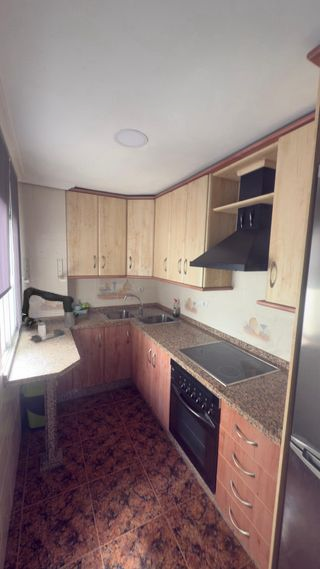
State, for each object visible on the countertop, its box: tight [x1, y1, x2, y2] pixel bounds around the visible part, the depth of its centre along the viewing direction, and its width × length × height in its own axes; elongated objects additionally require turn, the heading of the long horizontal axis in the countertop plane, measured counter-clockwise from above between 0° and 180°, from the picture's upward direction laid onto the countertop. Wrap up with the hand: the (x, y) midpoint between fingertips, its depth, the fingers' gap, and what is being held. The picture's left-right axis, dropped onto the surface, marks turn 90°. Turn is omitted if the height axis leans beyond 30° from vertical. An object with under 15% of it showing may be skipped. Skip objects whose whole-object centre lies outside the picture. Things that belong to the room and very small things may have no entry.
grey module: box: [37, 321, 47, 336], centre depth 230 cm, size 5×5×12 cm
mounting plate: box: [29, 328, 67, 346], centre depth 223 cm, size 28×14×4 cm, turn 140°
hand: (36, 324), depth 237 cm, fingers open, 8 cm apart
